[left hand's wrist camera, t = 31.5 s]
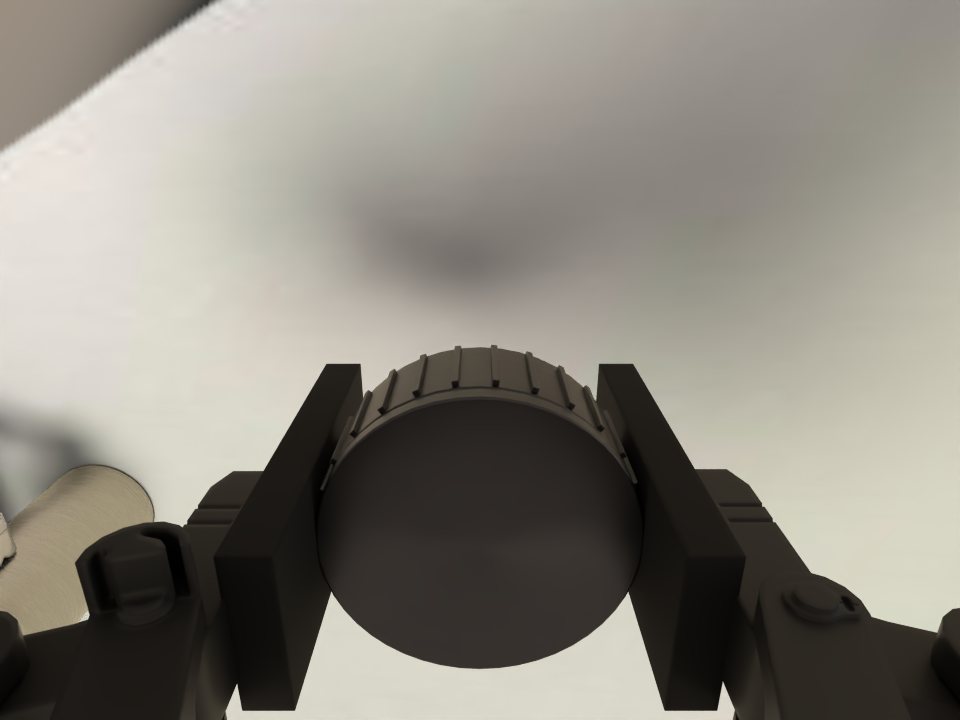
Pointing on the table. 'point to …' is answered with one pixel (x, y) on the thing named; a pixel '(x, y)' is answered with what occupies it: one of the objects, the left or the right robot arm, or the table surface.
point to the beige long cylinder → (64, 543)
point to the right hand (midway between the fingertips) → (28, 610)
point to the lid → (479, 511)
